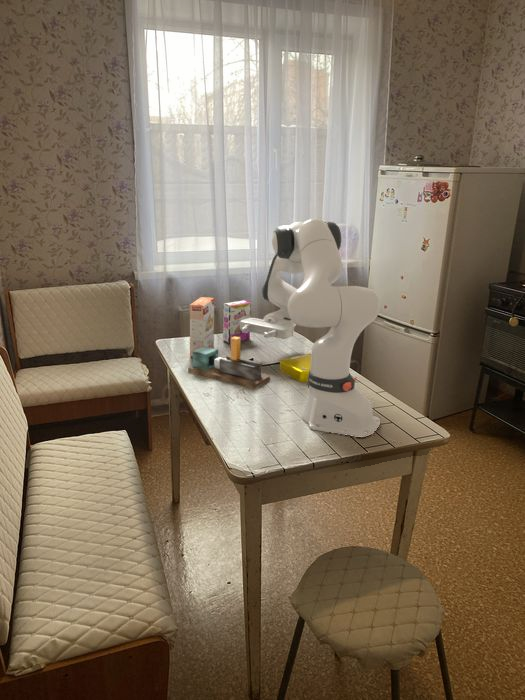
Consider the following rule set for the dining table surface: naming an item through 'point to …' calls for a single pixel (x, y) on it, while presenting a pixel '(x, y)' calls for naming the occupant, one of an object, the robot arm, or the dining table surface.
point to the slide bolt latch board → (227, 368)
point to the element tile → (297, 367)
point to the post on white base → (232, 352)
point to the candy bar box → (235, 319)
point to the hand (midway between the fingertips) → (254, 333)
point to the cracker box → (201, 324)
